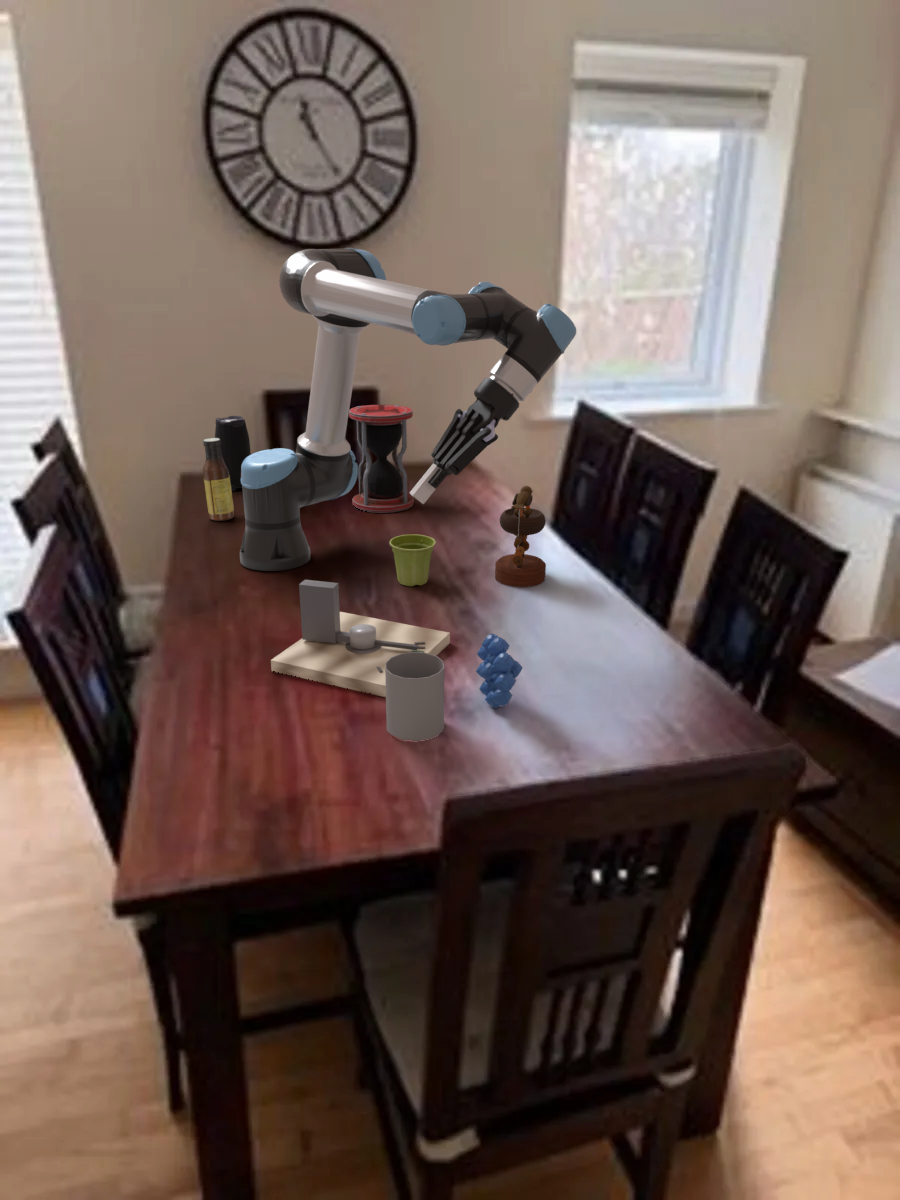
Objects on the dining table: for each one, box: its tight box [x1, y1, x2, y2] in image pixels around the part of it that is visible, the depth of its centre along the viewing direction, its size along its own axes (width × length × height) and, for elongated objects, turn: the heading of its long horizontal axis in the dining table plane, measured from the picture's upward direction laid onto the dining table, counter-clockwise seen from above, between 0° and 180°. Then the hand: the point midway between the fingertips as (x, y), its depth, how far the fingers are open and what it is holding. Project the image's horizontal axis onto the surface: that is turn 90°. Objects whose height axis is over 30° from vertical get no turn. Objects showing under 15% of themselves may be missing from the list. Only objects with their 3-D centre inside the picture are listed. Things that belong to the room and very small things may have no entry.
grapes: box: [475, 633, 524, 709], centre depth 131 cm, size 12×7×12 cm, turn 16°
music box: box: [494, 485, 547, 588], centre depth 181 cm, size 15×11×20 cm
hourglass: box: [348, 404, 415, 514], centre depth 228 cm, size 16×16×25 cm
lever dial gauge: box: [298, 579, 418, 650], centre depth 146 cm, size 20×4×10 cm, turn 75°
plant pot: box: [388, 533, 437, 587], centre depth 180 cm, size 9×9×9 cm
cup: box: [385, 652, 445, 741], centre depth 126 cm, size 8×8×10 cm
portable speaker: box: [214, 415, 251, 492], centre depth 244 cm, size 9×9×20 cm
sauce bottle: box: [202, 437, 235, 522], centre depth 217 cm, size 7×6×20 cm
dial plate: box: [270, 611, 451, 698], centre depth 148 cm, size 22×22×2 cm
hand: (416, 498), depth 151 cm, fingers closed
